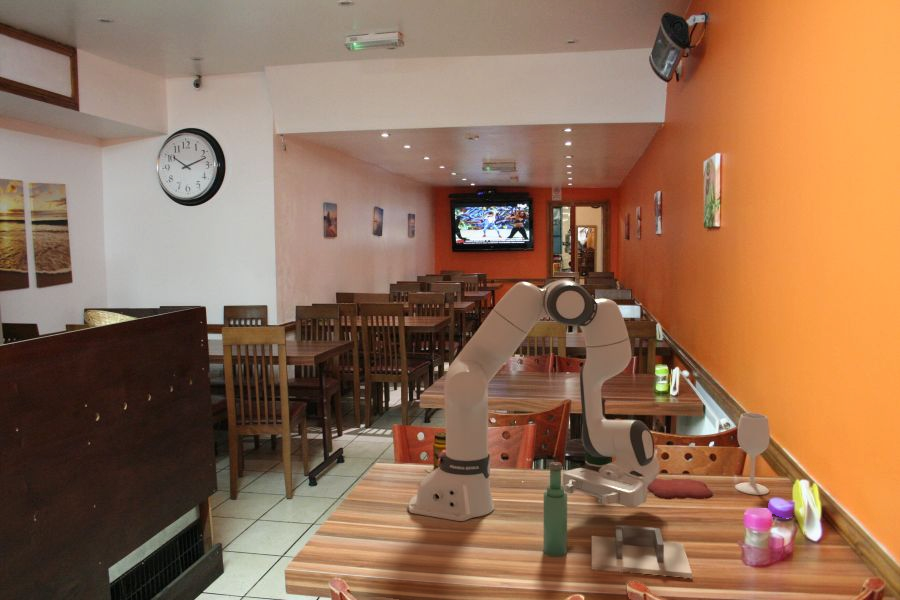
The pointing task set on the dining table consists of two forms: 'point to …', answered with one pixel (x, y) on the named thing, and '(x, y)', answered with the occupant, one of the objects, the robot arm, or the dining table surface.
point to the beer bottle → (597, 462)
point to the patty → (679, 489)
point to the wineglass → (753, 446)
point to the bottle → (555, 514)
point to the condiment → (438, 449)
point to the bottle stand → (639, 553)
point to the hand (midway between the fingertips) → (583, 494)
